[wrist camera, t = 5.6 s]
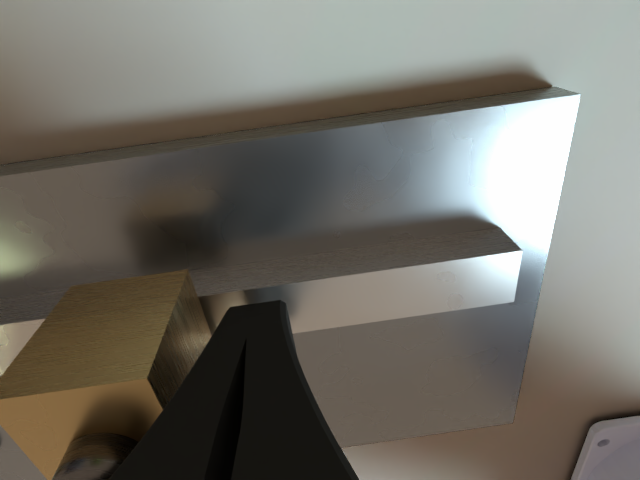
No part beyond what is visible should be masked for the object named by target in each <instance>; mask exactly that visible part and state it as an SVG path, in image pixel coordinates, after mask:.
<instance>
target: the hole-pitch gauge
mask: <svg viewBox="0 0 640 480" xmlns="http://www.w3.org/2000/svg"><path fill="white" fill-rule="evenodd" d="M580 95H581V94H578V93H575V92H571V91H568V90H565V89H561V88H558V87H549V88H542V89H535V90H528V91H521V92H514V93H507V94H500V95H492V96H485V97H478V98H471V99H464V100H457V101H450V102H443V103H436V104H429V105H422V106H415V107H408V108H401V109H393V110H386V111H379V112H372V113H365V114H358V115H351V116H344V117H337V118H330V119H323V120H316V121H309V122H301V123H294V124H287V125H280V126H273V127H266V128H259V129H252V130H245V131H238V132H231V133H224V134H217V135H210V136H202V137H195V138H188V139H181V140H174V141H167V142H160V143H153V144H146V145H139V146H132V147H125V148H118V149H111V150H103V151H96V152H89V153H82V154H75V155H68V156H61V157H54V158H47V159H40V160H33V161H26V162H19V163H11V164H4V165H0V377H1V376H2V374H3V373H4V372H5V370H6V369H7V368H8V367H9V365H10V364H11V363H12V361H13V360H14V359H15V358H16V356H17V355H18V354H19V352H20V351H21V350H22V349H23V347H24V346H25V345H26V343H27V342H28V341H29V340H30V338H31V337H32V336H33V334H34V333H35V332H36V331H37V329H38V328H39V327H40V325H41V324H42V323H43V322H44V320H45V319H46V318H47V316H48V315H49V314H50V312H51V311H52V310H53V309H54V307H55V306H56V305H57V303H58V302H59V301H60V300H61V298H62V297H63V296H64V294H65V293H66V292H67V291H68V289H69V288H70V287H71V286H74V285H81V284H88V283H95V282H102V281H109V280H116V279H123V278H130V277H137V276H144V275H151V274H158V273H165V272H172V271H179V270H186V269H188V270H189V273H190V276H191V279H192V282H193V284H194V287H195V290H196V293H197V296H198V299H199V301H200V304H201V307H202V310H203V313H204V316H205V318H206V321H207V324H208V327H209V330H210V332H211V335H213V333H214V332H215V330H216V328H217V327H218V325H219V323H220V321H221V320H222V318H223V316H224V315H225V313H226V311H227V310H228V309H229V308H230V307H233V306H240V305H247V304H254V303H261V302H268V301H275V300H282V301H283V302H285V303H286V305H287V310H288V314H289V319H290V324H291V329H292V333H293V338H294V343H295V347H296V352H297V357H298V360H299V362H300V365H301V368H302V370H303V373H304V375H305V378H306V380H307V382H308V385H309V387H310V389H311V391H312V393H313V395H314V398H315V400H316V402H317V404H318V406H319V408H320V410H321V412H322V414H323V416H324V418H325V420H326V422H327V424H328V426H329V428H330V430H331V431H332V433H333V435H334V437H335V439H336V441H337V442H338V444H339V446H340V448H343V447H350V446H357V445H364V444H371V443H377V442H384V441H391V440H398V439H405V438H412V437H419V436H426V435H433V434H440V433H447V432H454V431H461V430H468V429H475V428H482V427H489V426H496V425H503V424H510V423H513V420H514V415H515V411H516V406H517V401H518V396H519V391H520V386H521V381H522V377H523V372H524V367H525V362H526V357H527V352H528V348H529V343H530V338H531V333H532V328H533V323H534V318H535V314H536V309H537V304H538V299H539V294H540V289H541V284H542V280H543V275H544V270H545V265H546V260H547V255H548V251H549V246H550V241H551V236H552V231H553V226H554V221H555V217H556V212H557V207H558V202H559V197H560V192H561V188H562V183H563V178H564V173H565V168H566V163H567V158H568V154H569V149H570V144H571V139H572V134H573V129H574V124H575V120H576V115H577V110H578V105H579V100H580ZM0 480H47V479H46V478H45V476H44V475H43V474H42V473H41V472H40V471H39V469H38V468H37V467H36V466H35V465H34V464H33V462H32V461H31V460H30V459H29V458H28V457H27V455H26V454H25V453H24V452H23V451H22V450H21V448H20V447H19V446H18V445H17V444H16V443H15V441H14V440H13V439H12V438H11V437H10V436H9V434H8V433H7V432H6V431H5V430H4V429H3V428H2V426H1V425H0Z"/></svg>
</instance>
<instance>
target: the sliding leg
mask: <svg viewBox="0 0 640 480" xmlns="http://www.w3.org/2000/svg"><path fill="white" fill-rule="evenodd" d="M211 337H212V335H211V332H210V330H209V327H208V324H207V321H206V318H205V316H204V313H203V310H202V307H201V304H200V301H199V299H198V296H197V293H196V290H195V287H194V284H193V282H192V279H191V276H190V273H189V270H188V269H186V270H179V271H172V272H165V273H158V274H151V275H144V276H137V277H130V278H123V279H116V280H109V281H102V282H95V283H88V284H81V285H74V286H71V287H70V288H69V289H68V291H67V292H66V293H65V294H64V296H63V297H62V298H61V300H60V301H59V302H58V303H57V305H56V306H55V307H54V309H53V310H52V311H51V312H50V314H49V315H48V316H47V318H46V319H45V320H44V322H43V323H42V324H41V325H40V327H39V328H38V329H37V331H36V332H35V333H34V334H33V336H32V337H31V338H30V340H29V341H28V342H27V343H26V345H25V346H24V347H23V349H22V350H21V351H20V352H19V354H18V355H17V356H16V358H15V359H14V360H13V361H12V363H11V364H10V365H9V367H8V368H7V369H6V370H5V372H4V373H3V374H2V376H1V377H0V425H1V426H2V428H3V429H4V430H5V431H6V432H7V433H8V434H9V436H10V437H11V438H12V439H13V440H14V441H15V443H16V444H17V445H18V446H19V447H20V448H21V450H22V451H23V452H24V453H25V454H26V455H27V457H28V458H29V459H30V460H31V461H32V462H33V464H34V465H35V466H36V467H37V468H38V469H39V471H40V472H41V473H42V474H43V475H44V476H45V478H46V479H47V480H108V479H109V478H110V477H111V476H112V474H113V473H114V472H115V471H116V470H117V468H118V467H119V466H120V465H121V464H122V462H123V461H124V460H125V459H126V458H127V456H128V455H129V454H130V453H131V451H132V450H133V449H134V448H135V446H136V445H137V444H138V443H139V441H140V440H141V439H142V437H143V436H144V435H145V434H146V432H147V431H148V430H149V428H150V427H151V426H152V424H153V423H154V422H155V420H156V419H157V417H158V416H159V415H160V413H161V412H162V410H163V409H164V408H165V406H166V405H167V404H168V402H169V401H170V399H171V398H172V397H173V395H174V394H175V392H176V391H177V390H178V388H179V387H180V385H181V384H182V382H183V381H184V379H185V378H186V376H187V375H188V373H189V371H190V370H191V368H192V367H193V365H194V364H195V362H196V361H197V359H198V358H199V356H200V355H201V353H202V351H203V350H204V348H205V346H206V345H207V343H208V342H209V340H210V338H211Z"/></svg>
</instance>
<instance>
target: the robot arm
mask: <svg viewBox="0 0 640 480" xmlns="http://www.w3.org/2000/svg"><path fill="white" fill-rule="evenodd" d="M108 480H359V479H358V477H357V475H356V473H355V472H354V470H353V468H352V467H351V465H350V463H349V462H348V460H347V458H346V456H345V455H344V453H343V451H342V450H341V448H340V446H339V444H338V442H337V441H336V439H335V437H334V435H333V433H332V431H331V430H330V428H329V426H328V424H327V422H326V420H325V418H324V416H323V414H322V412H321V410H320V408H319V406H318V404H317V402H316V400H315V398H314V395H313V393H312V391H311V389H310V387H309V385H308V382H307V380H306V378H305V375H304V373H303V370H302V368H301V365H300V362H299V360H298V357H297V352H296V347H295V343H294V338H293V333H292V329H291V324H290V319H289V314H288V310H287V305H286V303H285V302H283V301H282V300H275V301H268V302H261V303H254V304H247V305H240V306H233V307H230V308H229V309H228V310H227V311H226V313H225V315H224V316H223V318H222V320H221V321H220V323H219V325H218V327H217V328H216V330H215V332H214V333H213V335H212V337H211V338H210V340H209V342H208V343H207V345H206V346H205V348H204V350H203V351H202V353H201V355H200V356H199V358H198V359H197V361H196V362H195V364H194V365H193V367H192V368H191V370H190V371H189V373H188V375H187V376H186V378H185V379H184V381H183V382H182V384H181V385H180V387H179V388H178V390H177V391H176V392H175V394H174V395H173V397H172V398H171V399H170V401H169V402H168V404H167V405H166V406H165V408H164V409H163V410H162V412H161V413H160V415H159V416H158V417H157V419H156V420H155V422H154V423H153V424H152V426H151V427H150V428H149V430H148V431H147V432H146V434H145V435H144V436H143V437H142V439H141V440H140V441H139V443H138V444H137V445H136V446H135V448H134V449H133V450H132V451H131V453H130V454H129V455H128V456H127V458H126V459H125V460H124V461H123V462H122V464H121V465H120V466H119V467H118V468H117V470H116V471H115V472H114V473H113V474H112V476H111V477H110V478H109V479H108ZM571 480H640V415H639V416H632V417H626V418H619V419H612V420H605V421H600V422H597V423H595V424H593V425H592V426H591V427H590V429H589V432H588V434H587V437H586V440H585V443H584V445H583V448H582V451H581V453H580V456H579V459H578V461H577V464H576V467H575V470H574V472H573V475H572V478H571Z"/></svg>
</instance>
